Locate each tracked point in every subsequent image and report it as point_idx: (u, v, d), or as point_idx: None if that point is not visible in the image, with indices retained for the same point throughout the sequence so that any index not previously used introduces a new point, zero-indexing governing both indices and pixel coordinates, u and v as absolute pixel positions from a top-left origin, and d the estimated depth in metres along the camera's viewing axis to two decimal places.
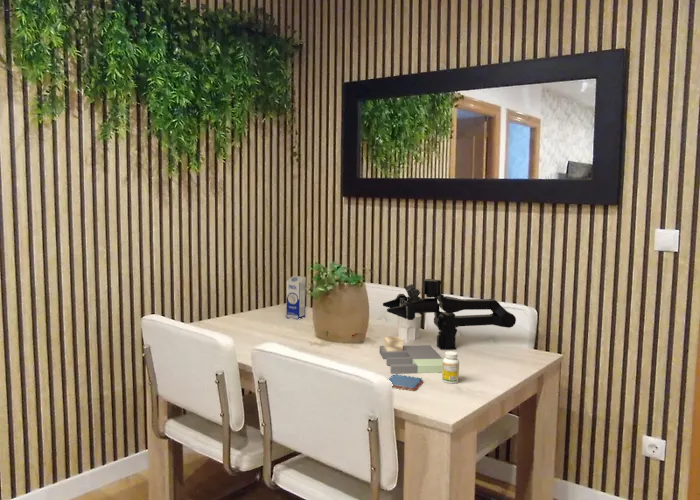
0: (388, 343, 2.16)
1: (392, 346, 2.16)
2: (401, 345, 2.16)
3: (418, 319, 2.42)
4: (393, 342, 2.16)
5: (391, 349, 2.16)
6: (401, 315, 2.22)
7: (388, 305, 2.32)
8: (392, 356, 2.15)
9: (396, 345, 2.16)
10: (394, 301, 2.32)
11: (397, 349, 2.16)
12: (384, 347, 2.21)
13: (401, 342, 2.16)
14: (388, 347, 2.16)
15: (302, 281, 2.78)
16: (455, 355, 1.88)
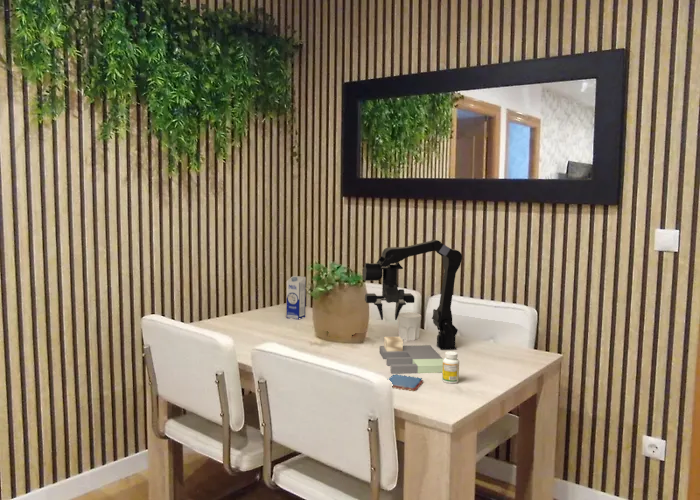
0: (388, 343, 2.16)
1: (392, 346, 2.16)
2: (401, 345, 2.16)
3: (418, 319, 2.42)
4: (393, 342, 2.16)
5: (391, 349, 2.16)
6: None
7: None
8: (392, 356, 2.15)
9: (396, 345, 2.16)
10: None
11: (397, 349, 2.16)
12: (384, 347, 2.21)
13: (401, 342, 2.16)
14: (388, 347, 2.16)
15: (302, 281, 2.78)
16: (455, 355, 1.88)
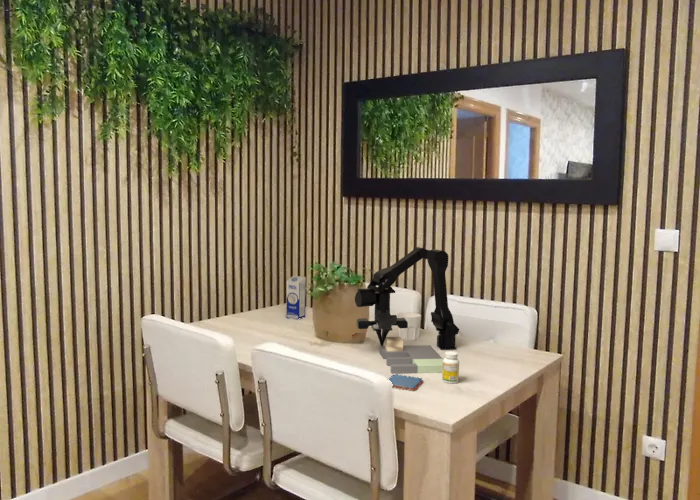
0: (388, 343, 2.16)
1: (392, 346, 2.16)
2: (401, 345, 2.16)
3: (418, 319, 2.42)
4: (393, 342, 2.16)
5: (391, 349, 2.16)
6: None
7: None
8: (392, 356, 2.15)
9: (396, 345, 2.16)
10: None
11: (397, 349, 2.16)
12: None
13: (401, 342, 2.16)
14: (388, 347, 2.16)
15: (302, 281, 2.78)
16: (455, 355, 1.88)
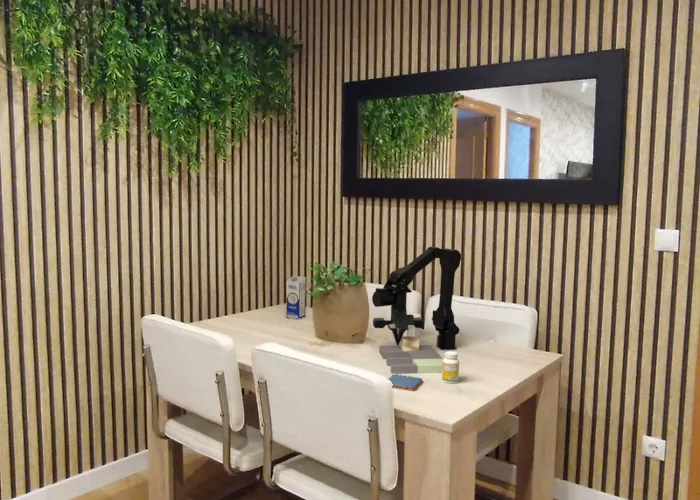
0: (404, 343, 2.17)
1: (408, 346, 2.17)
2: (417, 345, 2.17)
3: None
4: (409, 342, 2.17)
5: (407, 349, 2.17)
6: None
7: None
8: (392, 356, 2.15)
9: (412, 345, 2.17)
10: None
11: (413, 349, 2.17)
12: None
13: (417, 342, 2.17)
14: (404, 347, 2.17)
15: (302, 281, 2.78)
16: (455, 355, 1.88)
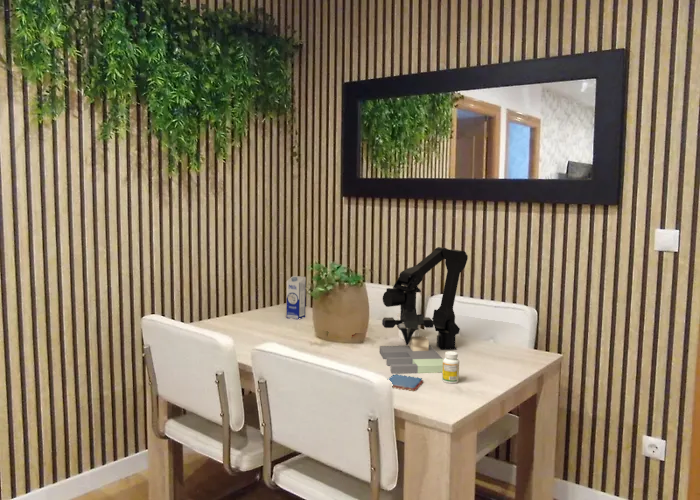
0: (414, 343, 2.17)
1: (418, 346, 2.17)
2: (427, 345, 2.17)
3: None
4: (419, 342, 2.17)
5: (417, 349, 2.17)
6: None
7: None
8: (392, 356, 2.15)
9: (422, 345, 2.17)
10: (406, 333, 2.18)
11: (423, 349, 2.17)
12: None
13: (427, 342, 2.17)
14: (414, 347, 2.17)
15: (302, 281, 2.78)
16: (455, 355, 1.88)
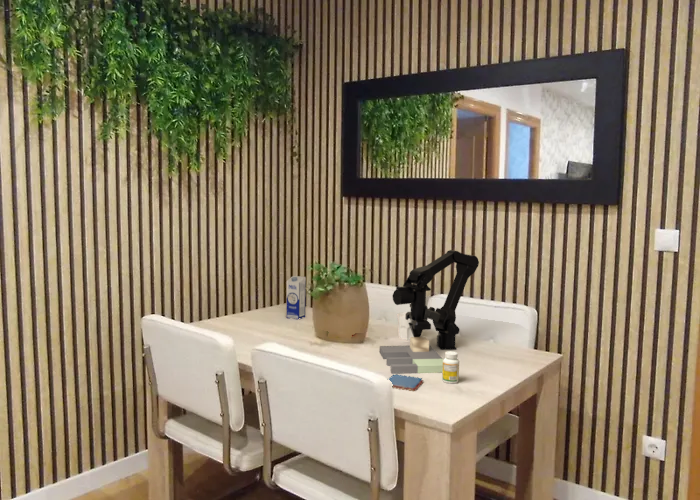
0: (414, 343, 2.16)
1: (418, 346, 2.16)
2: (427, 346, 2.16)
3: None
4: (419, 343, 2.16)
5: (417, 349, 2.16)
6: None
7: None
8: (392, 356, 2.15)
9: (422, 346, 2.16)
10: None
11: (423, 350, 2.16)
12: (410, 347, 2.21)
13: (427, 343, 2.16)
14: (414, 347, 2.16)
15: (302, 281, 2.78)
16: (455, 355, 1.88)
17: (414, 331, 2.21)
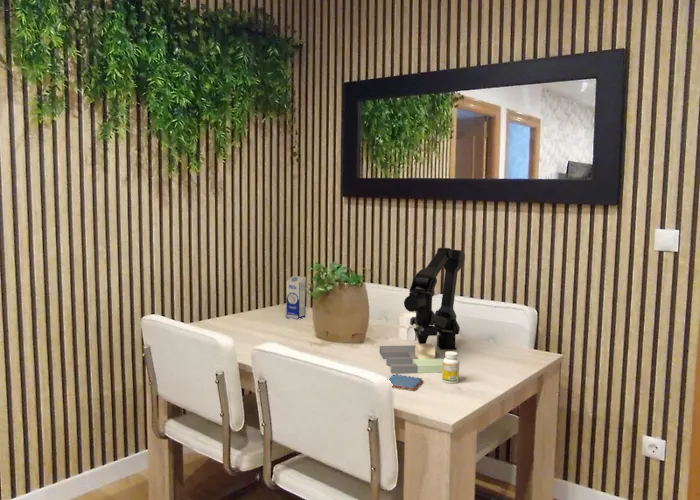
0: (420, 351, 2.06)
1: (424, 354, 2.07)
2: (433, 353, 2.07)
3: None
4: (425, 350, 2.07)
5: (423, 357, 2.07)
6: None
7: None
8: (392, 356, 2.15)
9: (428, 353, 2.07)
10: None
11: (429, 357, 2.07)
12: (415, 354, 2.12)
13: (433, 350, 2.07)
14: (420, 355, 2.07)
15: (302, 281, 2.78)
16: (455, 355, 1.88)
17: (420, 337, 2.12)
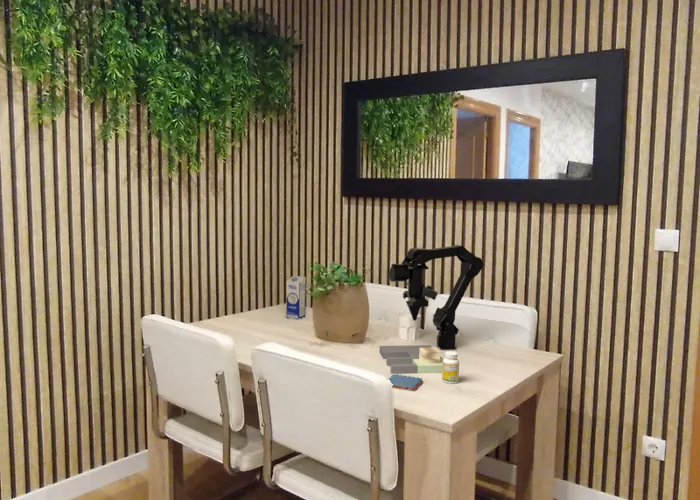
0: (425, 355, 2.01)
1: (429, 358, 2.02)
2: (438, 357, 2.02)
3: (418, 319, 2.42)
4: (430, 354, 2.01)
5: (428, 361, 2.02)
6: None
7: None
8: (392, 356, 2.15)
9: (433, 357, 2.02)
10: None
11: (434, 361, 2.02)
12: None
13: (438, 354, 2.02)
14: (425, 359, 2.01)
15: (302, 281, 2.78)
16: (455, 355, 1.88)
17: (412, 309, 2.23)
